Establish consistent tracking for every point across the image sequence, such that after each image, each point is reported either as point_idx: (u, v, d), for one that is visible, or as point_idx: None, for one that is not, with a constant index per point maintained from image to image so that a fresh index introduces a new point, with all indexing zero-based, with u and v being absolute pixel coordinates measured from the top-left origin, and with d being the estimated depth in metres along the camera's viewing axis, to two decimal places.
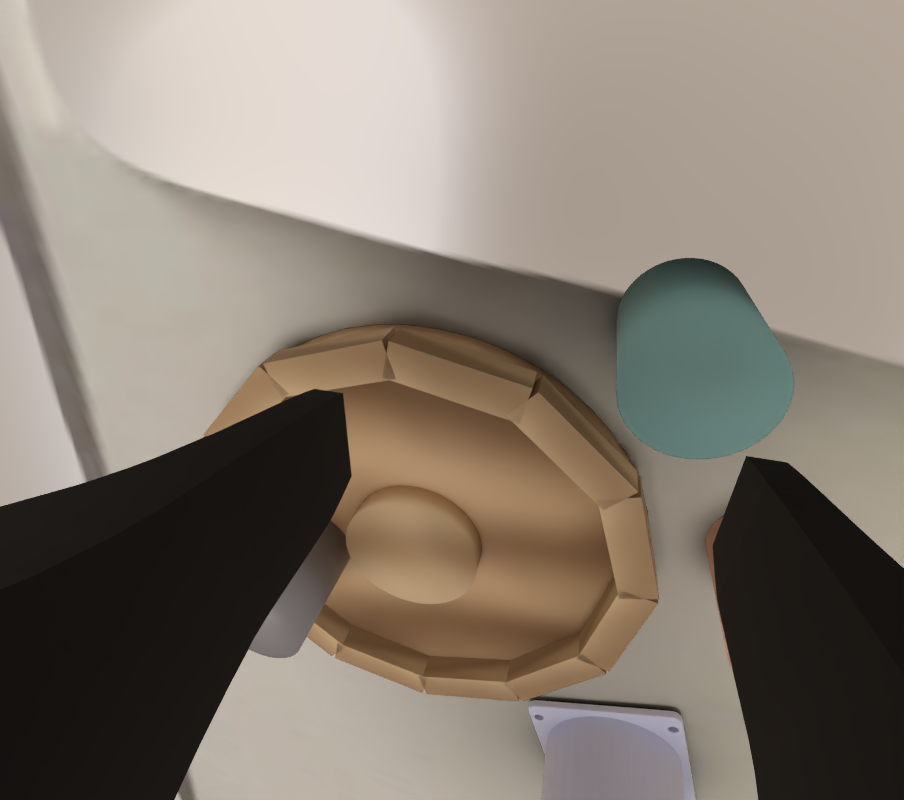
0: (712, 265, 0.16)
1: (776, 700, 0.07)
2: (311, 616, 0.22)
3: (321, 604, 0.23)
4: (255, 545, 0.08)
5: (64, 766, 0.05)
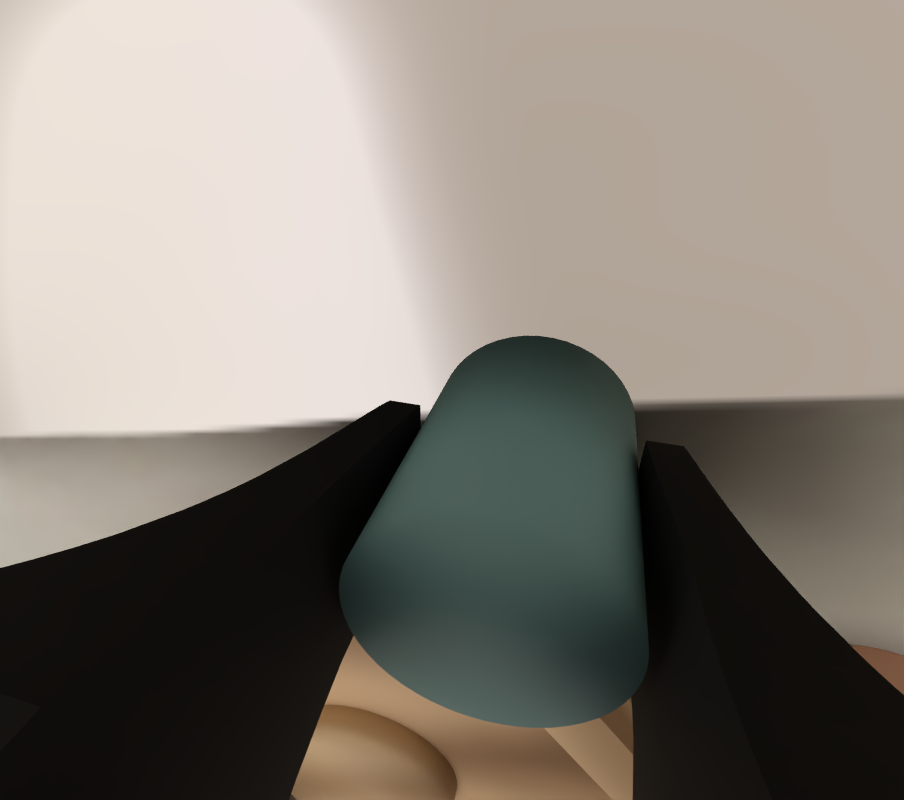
0: (522, 345, 0.10)
1: (648, 669, 0.07)
2: None
3: None
4: None
5: None
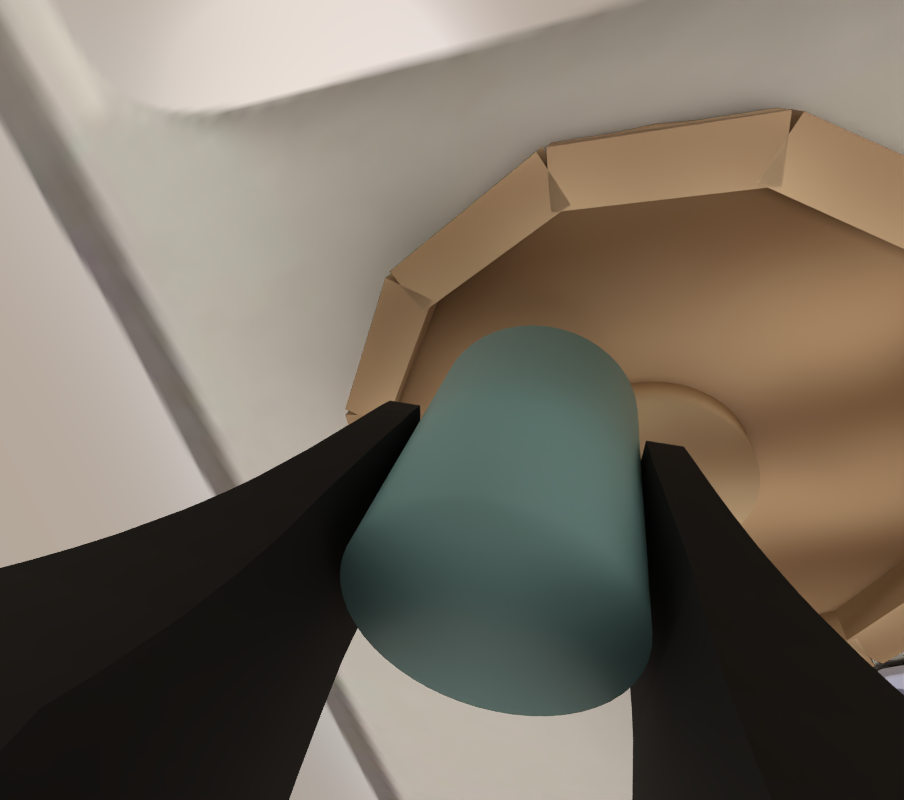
0: (530, 335, 0.10)
1: (648, 670, 0.07)
2: None
3: None
4: None
5: None
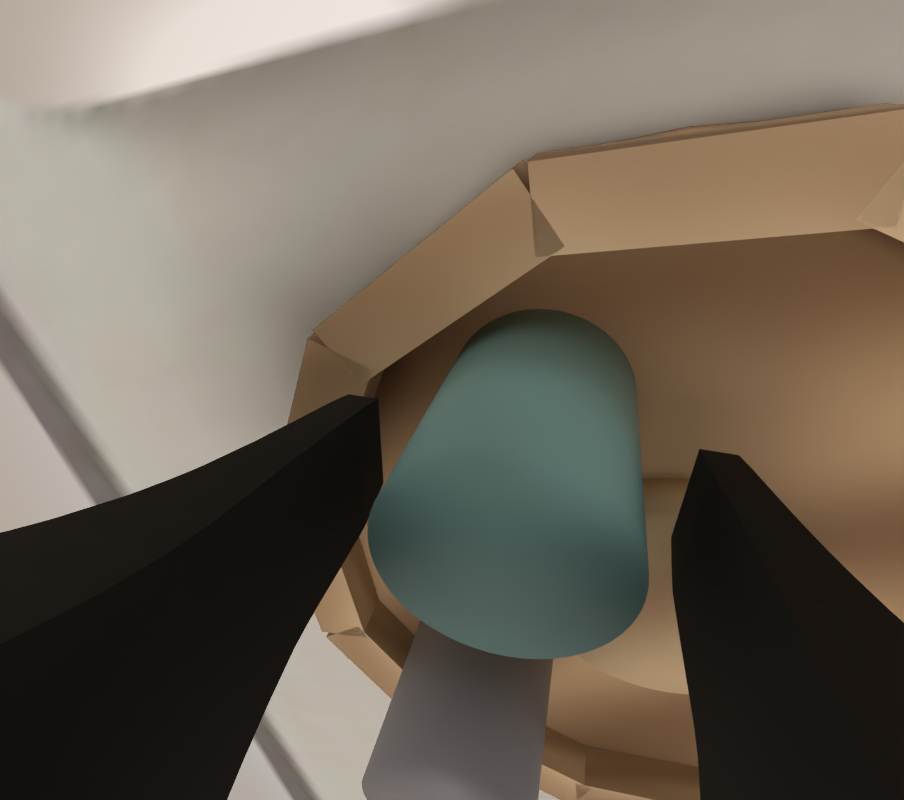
0: (536, 317, 0.10)
1: (716, 686, 0.07)
2: (533, 772, 0.12)
3: (541, 740, 0.13)
4: (297, 554, 0.08)
5: (123, 787, 0.05)
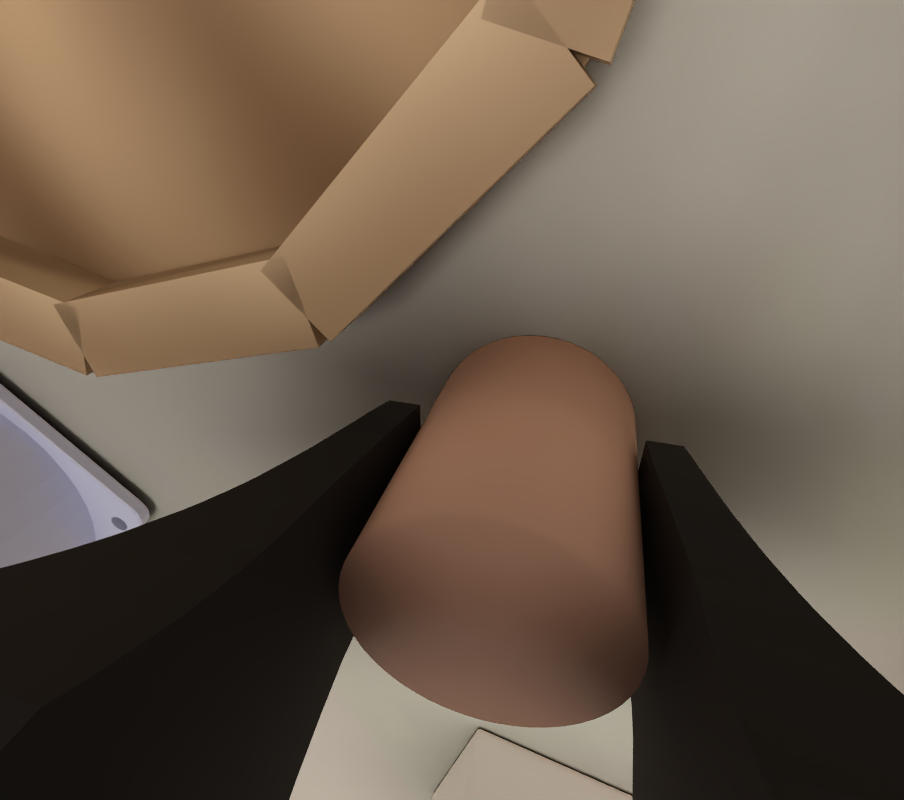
0: None
1: (648, 670, 0.07)
2: None
3: None
4: None
5: None
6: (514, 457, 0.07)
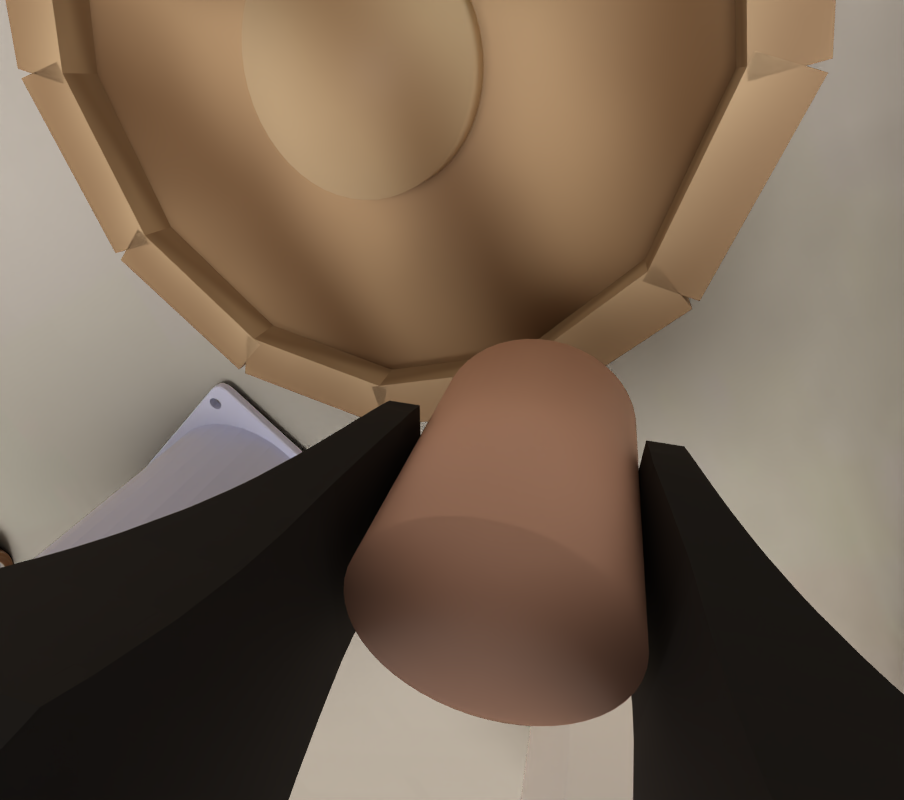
0: None
1: (648, 670, 0.07)
2: None
3: None
4: (346, 566, 0.08)
5: None
6: (509, 458, 0.07)
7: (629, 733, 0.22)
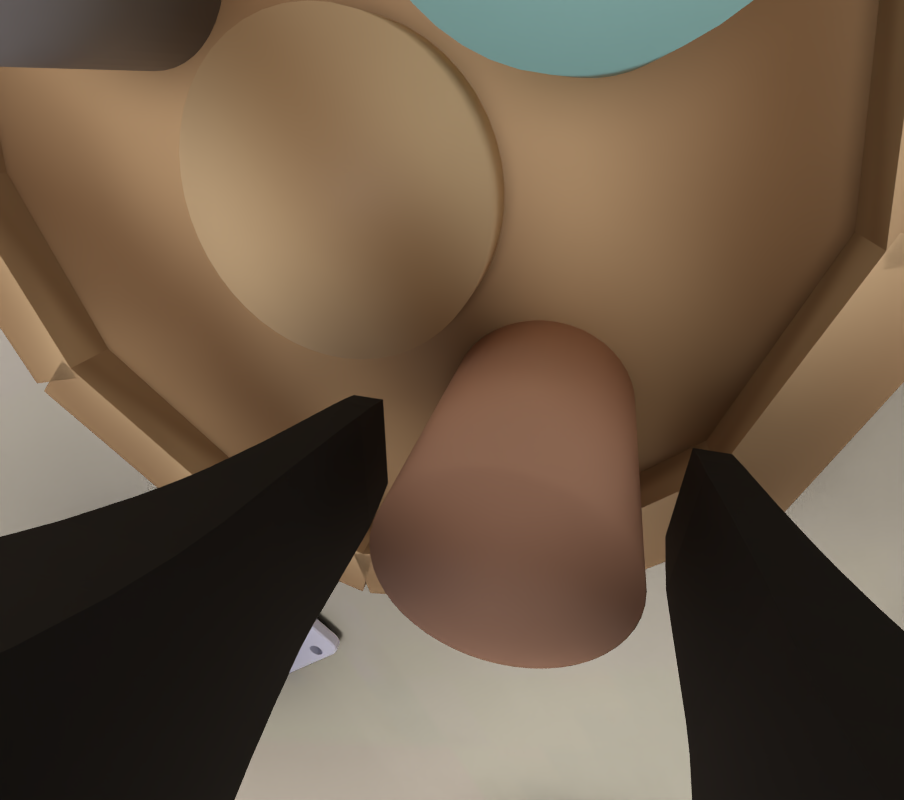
0: None
1: (708, 684, 0.07)
2: None
3: (32, 55, 0.07)
4: (303, 556, 0.08)
5: (132, 790, 0.05)
6: (519, 420, 0.08)
7: None
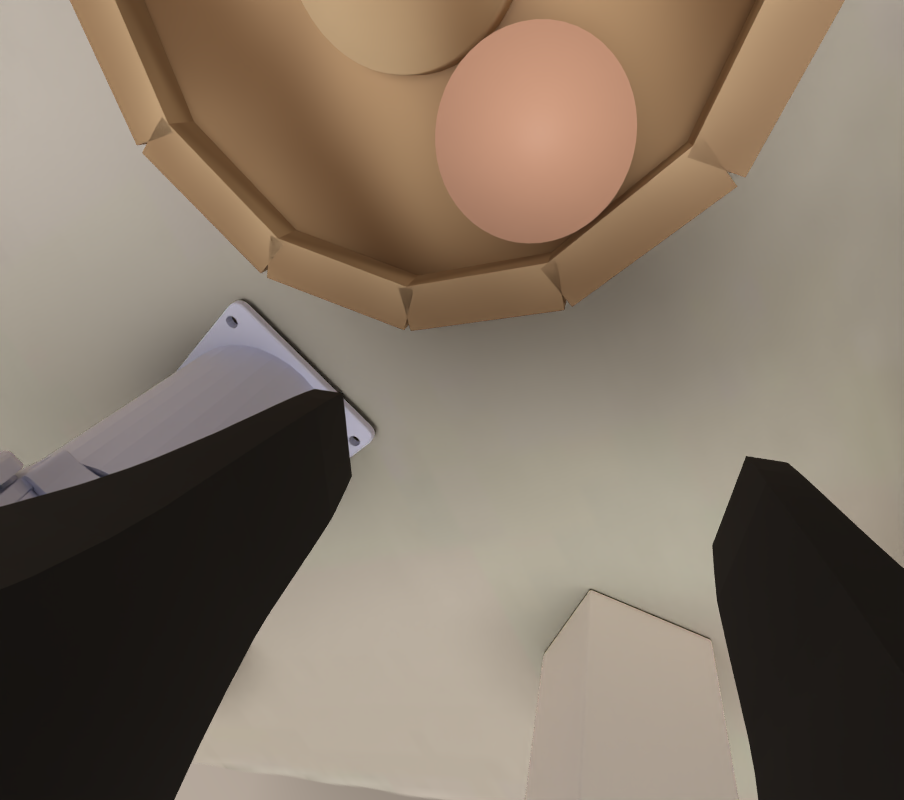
0: None
1: (776, 700, 0.07)
2: None
3: None
4: (255, 545, 0.08)
5: (64, 766, 0.05)
6: None
7: (646, 663, 0.22)
